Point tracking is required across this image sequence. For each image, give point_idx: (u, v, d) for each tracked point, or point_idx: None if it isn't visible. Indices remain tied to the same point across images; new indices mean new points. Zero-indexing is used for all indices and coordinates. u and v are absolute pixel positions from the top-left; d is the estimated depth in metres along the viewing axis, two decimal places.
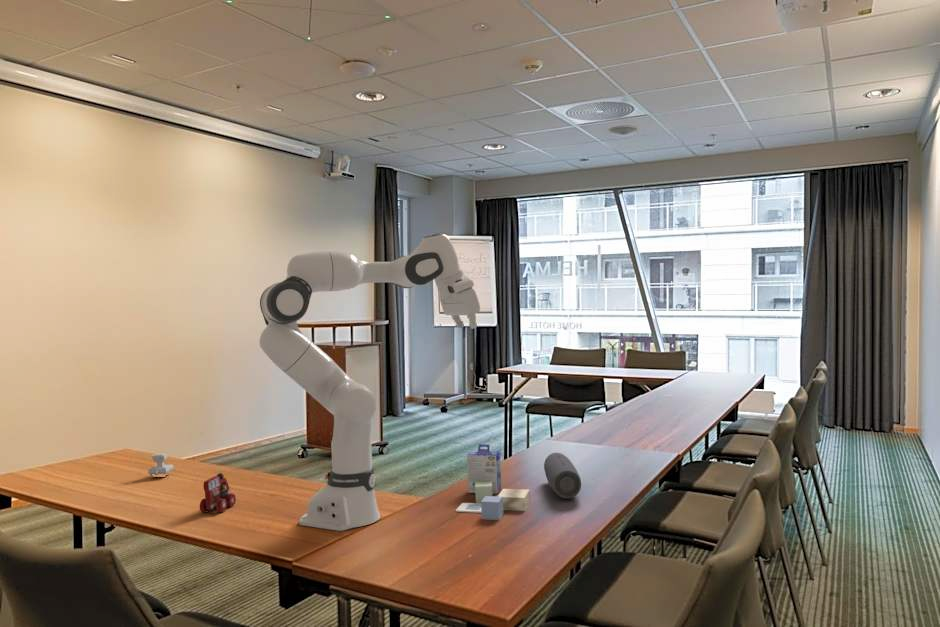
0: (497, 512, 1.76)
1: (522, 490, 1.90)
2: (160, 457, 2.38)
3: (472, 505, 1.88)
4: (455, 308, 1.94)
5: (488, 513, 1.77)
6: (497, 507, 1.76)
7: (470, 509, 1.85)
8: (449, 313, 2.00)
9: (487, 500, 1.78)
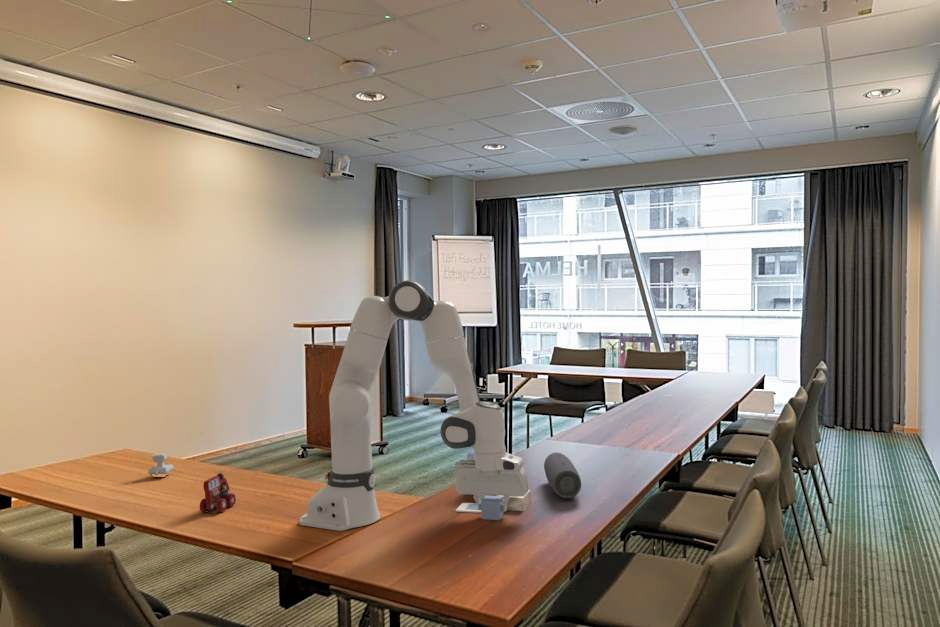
0: (497, 512, 1.76)
1: None
2: (160, 457, 2.38)
3: (472, 505, 1.88)
4: (491, 487, 1.77)
5: (488, 512, 1.77)
6: (497, 507, 1.76)
7: (470, 509, 1.85)
8: (471, 492, 1.79)
9: (487, 500, 1.78)
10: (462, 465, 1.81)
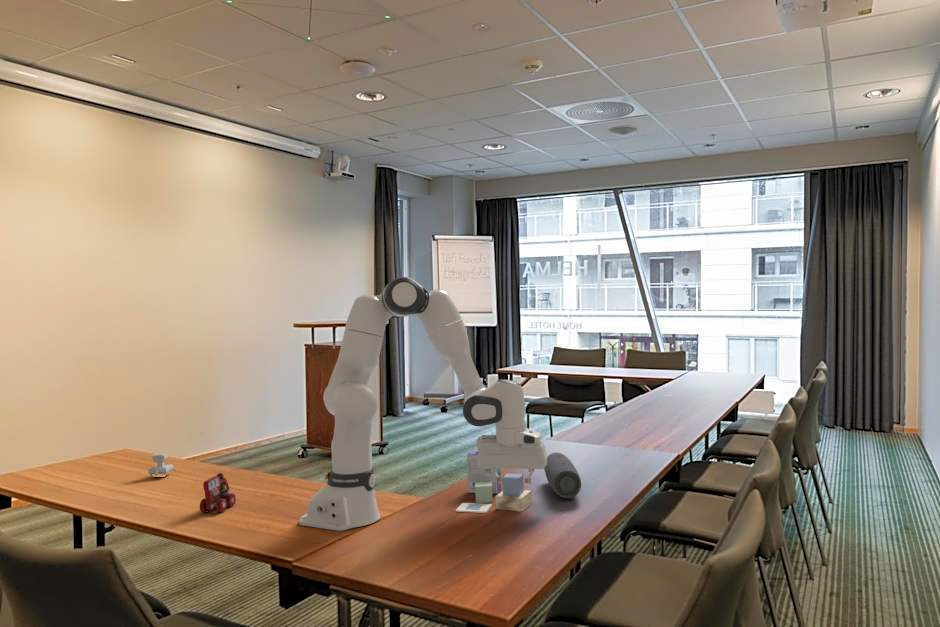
0: (518, 488, 1.85)
1: (524, 490, 1.90)
2: (160, 457, 2.38)
3: (472, 505, 1.88)
4: (511, 460, 1.86)
5: (509, 489, 1.85)
6: (518, 483, 1.85)
7: (470, 509, 1.85)
8: (492, 465, 1.87)
9: (508, 477, 1.87)
10: (484, 440, 1.89)
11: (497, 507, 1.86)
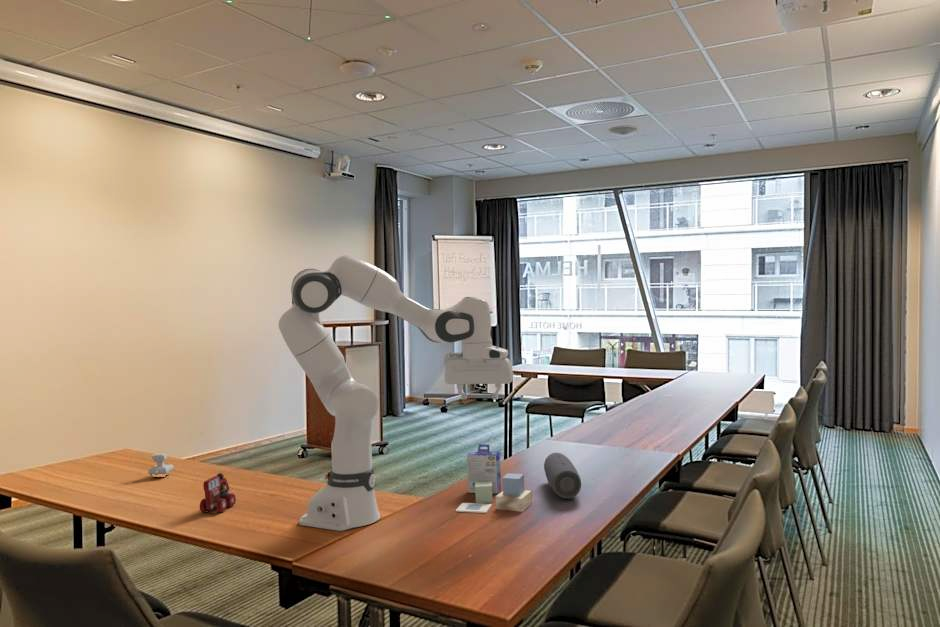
0: (517, 488, 1.85)
1: (524, 490, 1.90)
2: (160, 457, 2.38)
3: (472, 505, 1.88)
4: (478, 376, 1.88)
5: (509, 489, 1.86)
6: (518, 483, 1.85)
7: (470, 509, 1.85)
8: (459, 381, 1.89)
9: (508, 477, 1.87)
10: (451, 357, 1.91)
11: (497, 507, 1.86)
